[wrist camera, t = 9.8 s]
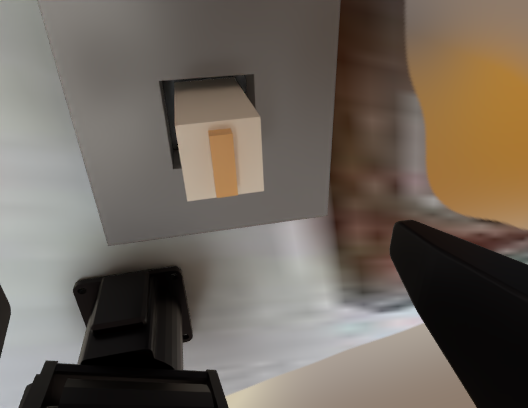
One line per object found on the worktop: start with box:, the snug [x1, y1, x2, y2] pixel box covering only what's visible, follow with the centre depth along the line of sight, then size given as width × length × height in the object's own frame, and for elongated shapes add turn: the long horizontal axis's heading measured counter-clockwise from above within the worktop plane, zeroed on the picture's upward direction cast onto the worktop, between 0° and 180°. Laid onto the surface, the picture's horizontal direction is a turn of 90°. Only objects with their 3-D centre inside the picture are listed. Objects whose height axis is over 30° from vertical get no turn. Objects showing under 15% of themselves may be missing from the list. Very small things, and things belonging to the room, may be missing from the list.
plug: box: [174, 77, 264, 202], centre depth 17 cm, size 3×3×8 cm
